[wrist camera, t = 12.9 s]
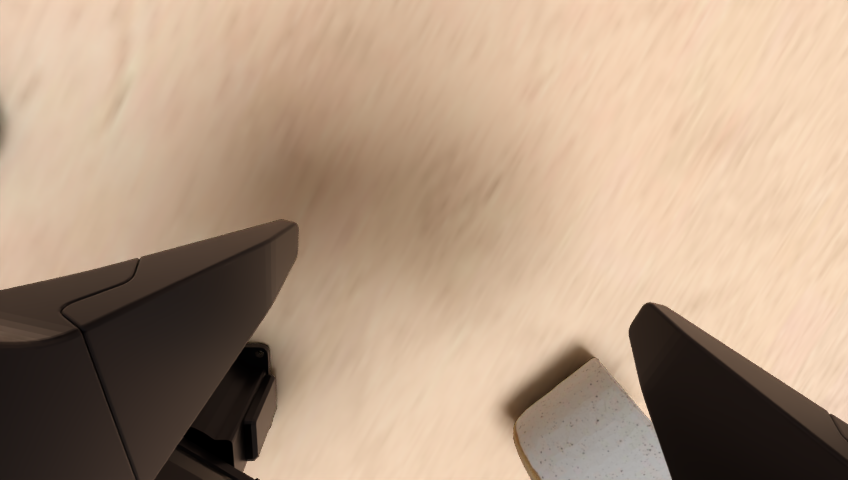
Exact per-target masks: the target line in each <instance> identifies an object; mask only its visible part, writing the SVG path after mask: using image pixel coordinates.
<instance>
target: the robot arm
mask: <svg viewBox="0 0 848 480" xmlns="http://www.w3.org/2000/svg"><path fill="white" fill-rule="evenodd" d="M298 234H299V228H298V225H297V223H295V222H292V221H287V220H282V219H281V220H277V221H273V222H269V223H266V224H262V225H258V226H254V227H251V228H247V229H243V230H240V231H236V232H232V233H228V234H225V235H221V236H217V237H214V238H210V239H206V240H202V241H199V242H195V243H191V244H188V245H184V246H180V247H176V248H173V249H169V250H165V251H162V252H158V253H154V254H150V255H147V256H143V257H141V258H140V259H138V258H135V259H132V260H128V261H124V262H121V263H117V264H113V265H109V266H105V267H101V268H97V269H93V270H89V271H85V272H81V273H76V274H72V275H68V276H63V277H59V278H54V279H50V280H46V281H41V282H36V283H32V284H27V285H23V286H18V287H13V288H9V289H4V290H0V480H260V479H258V478H256V479H253V478H252V477H250V476H248V475H247V474H245V473H243V471H244V468H245V466H246V463H247V461H255V460H256V459H257V458H258V457H259V454H260V452H261V449H262V446H263V444H264V441H265V438H266V436H267V433H268V430H269V429H270V428H271V425H272V422H273V417H274V414H275V412H276V409H277V400H276V378H275V377H274V375H272V374H271V370H270V350H269V348H268V346H267V345H265V344H247V342H248V341H249V339H250V338H251V336H252V335H253V333H254V332H255V330H256V329H257V327H258V326H259V324H260V323H261V321H262V320H263V319H264V317H265V316H266V314H267V313H268V311H269V309H270V308H271V306H272V305H273V303H274V301H275V299H276V297H277V295H278V293H279V291H280V289H281V287H282V286H283V284H284V282H285V280H286V278H287V276H288V274H289V272H290V270H291V268H292V266H293V264H294V262H295V260H296V258H297V254H298ZM629 338H630V343H631V347H632V352H633V356H634V361H635V365H636V369H637V374H638V378H639V382H640V386H641V390H642V393H643V396H644V400H645V403H646V405H647V408H648V411H649V414H650V417H651V420H652V423H653V426H654V429H655V432H656V435H657V438H658V441H659V444H660V447H661V450H662V453H663V456H664V458H665V461H666V464H667V467H668V470H669V473H670V476H671V479H672V480H848V424H847V423H845V422H843V421H842V420H840V419H839V418H837V417H836V416H834V415H832V414H829V413H828V412H827V411H826V410H825V409H823V408H822V407H820V406H819V405H817V404H816V403H814V402H813V401H811V400H809V399H808V398H806V397H805V396H803V395H802V394H800V393H799V392H797V391H796V390H794V389H793V388H791V387H789V386H788V385H786V384H785V383H783V382H782V381H780V380H779V379H777V378H776V377H774V376H773V375H771V374H769V373H768V372H766V371H765V370H763V369H762V368H760V367H759V366H757V365H756V364H754V363H753V362H751V361H749V360H748V359H746V358H745V357H743V356H742V355H740V354H739V353H737V352H736V351H734V350H733V349H731V348H729V347H728V346H726V345H725V344H723V343H722V342H720V341H719V340H717V339H716V338H714V337H713V336H711V335H709V334H708V333H706V332H705V331H703V330H702V329H700V328H699V327H697V326H696V325H694V324H692V323H691V322H689V321H688V320H686V319H685V318H683V317H682V316H680V315H679V314H677V313H676V312H674V311H672V310H671V309H669V308H668V307H666V306H664V305H660V304H656V303H651V302H648V303H646V304H644V305H643V306H642V308H641V309H640V311H639V313H638V314H637V316H636V317H635V319H634V320H633V322H632V323H631V325H630V328H629ZM258 351H262V352H263V353H264V354H259V353H258Z"/></svg>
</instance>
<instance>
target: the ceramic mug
mask: <svg viewBox="0 0 848 480" xmlns="http://www.w3.org/2000/svg"><path fill="white" fill-rule="evenodd" d="M513 439H514V443H515V446H516V449H517V452H518V455H519V457H520V459H521V461H522V463H523V465H524V467H525V469H526V471H527V473H528V475H529V476H530V478H531V480H672V479H671V476H670V473H669V470H668V467H667V464H666V461H665V458H664V456H663V453H662V450H661V447H660V444H659V441H658V438H657V435H656V432H655V429H654V426H653V423H652V422H651V421H650V420H649V419H648V418H647V416H646V415H645V414H644V413H643V412H642V411H641V410H640V408H639V407H638V406H637V405H636V404H635V402H634V401H633V400H632V399H631V398H630V397H629V396H628V394H627V393H626V392H625V391H624V390H623V388H622V387H621V386H620V385H619V384H618V383H617V382H616V380H615V379H614V378H613V377H612V375H611V374H610V373H609V372H608V371H607V369H606V368H605V367H604V366H603V365H602V363H601V362H600V361H599V360H598V359H597V358H592V359H591V360H589V361H588V362H587V363H585V364H584V365H583V366H582V367H580V368H579V369H578V370H577V371H575V372H574V373H573V374H571V375H570V376H569V377H568V378H566V379H565V380H564V381H562V382H561V383H560V384H558V385H557V386H556V387H555V388H554V389H552V390H551V391H550V392H549V393H547V394H546V395H545V396H543V397H542V398H541V399H539V400H538V401H537V402H535V403H534V404H533V405H532V406H530V407H529V408H528V409H526V410H525V411H524V412H523V414H522V415H521V416H520V417H519V418H518V419H517V421H516V422H515V424H514V428H513Z"/></svg>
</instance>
